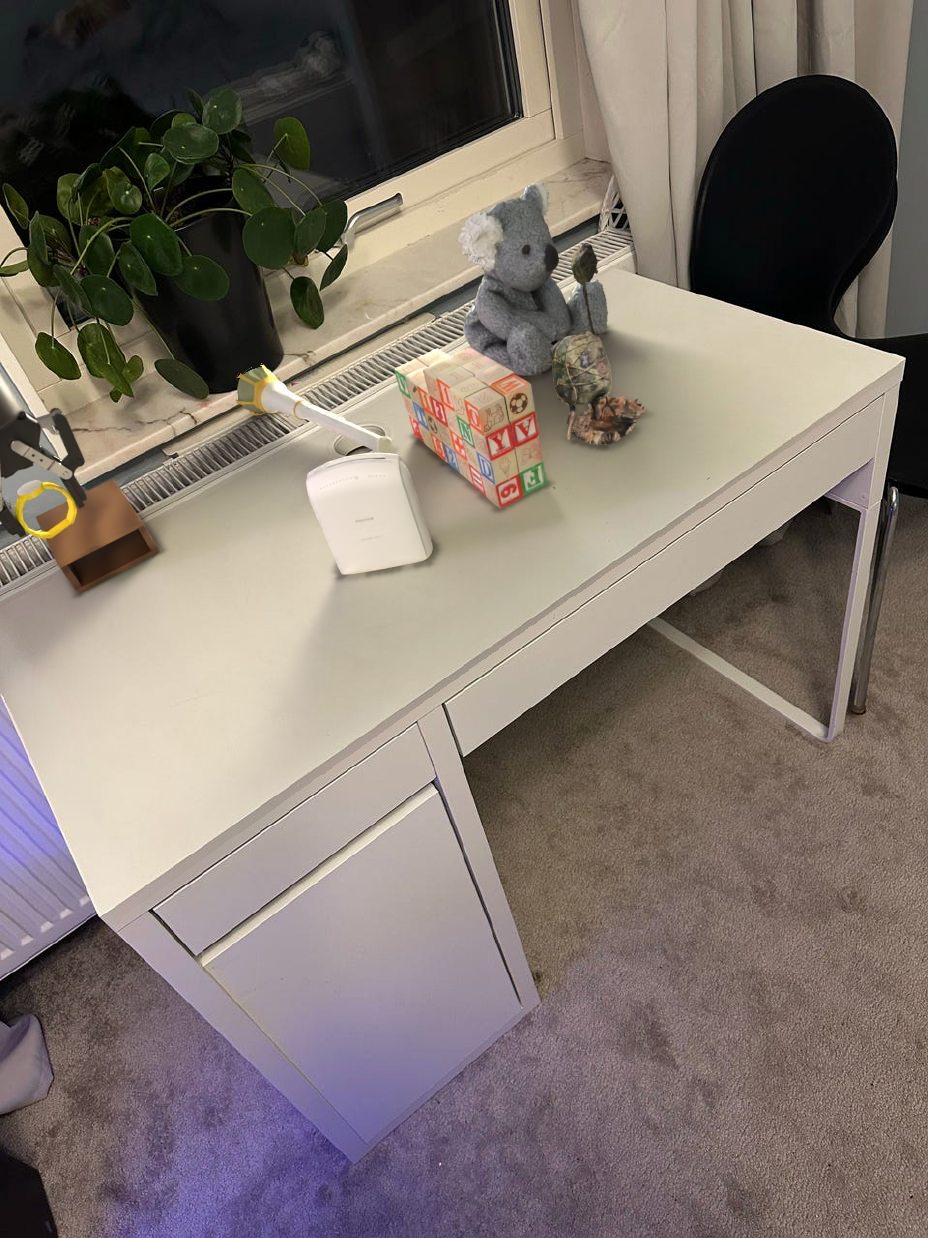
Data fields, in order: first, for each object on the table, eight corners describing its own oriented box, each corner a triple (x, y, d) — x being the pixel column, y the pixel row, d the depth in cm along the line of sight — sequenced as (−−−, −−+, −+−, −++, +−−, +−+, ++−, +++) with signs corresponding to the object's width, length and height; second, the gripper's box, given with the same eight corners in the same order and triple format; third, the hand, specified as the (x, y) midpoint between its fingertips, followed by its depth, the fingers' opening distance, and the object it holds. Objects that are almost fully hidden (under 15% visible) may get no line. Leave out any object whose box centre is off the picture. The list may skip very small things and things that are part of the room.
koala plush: (536, 386, 107) (510, 229, 94) (440, 361, 118) (404, 217, 105) (618, 325, 115) (605, 171, 101) (520, 307, 126) (496, 166, 112)
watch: (78, 512, 96) (50, 468, 92) (88, 519, 94) (60, 475, 90) (30, 541, 93) (-1, 497, 89) (40, 549, 92) (9, 505, 88)
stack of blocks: (412, 436, 105) (385, 343, 97) (455, 415, 106) (432, 322, 98) (500, 509, 90) (477, 407, 81) (549, 484, 91) (531, 381, 83)
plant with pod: (541, 438, 98) (511, 268, 85) (617, 397, 101) (599, 226, 88) (584, 464, 93) (559, 285, 79) (663, 419, 96) (652, 240, 82)
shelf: (78, 594, 95) (57, 564, 92) (55, 545, 104) (35, 516, 101) (160, 551, 98) (141, 521, 95) (130, 507, 107) (113, 478, 104)
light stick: (357, 439, 98) (215, 374, 115) (371, 483, 102) (232, 415, 119) (400, 409, 101) (256, 351, 118) (411, 454, 105) (271, 391, 122)
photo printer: (336, 580, 87) (295, 481, 79) (340, 554, 90) (301, 456, 82) (433, 564, 85) (401, 461, 77) (434, 538, 88) (404, 437, 80)
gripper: (24, 341, 86) (104, 476, 97) (-119, 401, 82) (-17, 536, 93) (37, 361, 81) (121, 502, 92) (-114, 426, 77) (-7, 565, 88)
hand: (51, 518), depth 93 cm, fingers closed on watch, 6 cm apart
